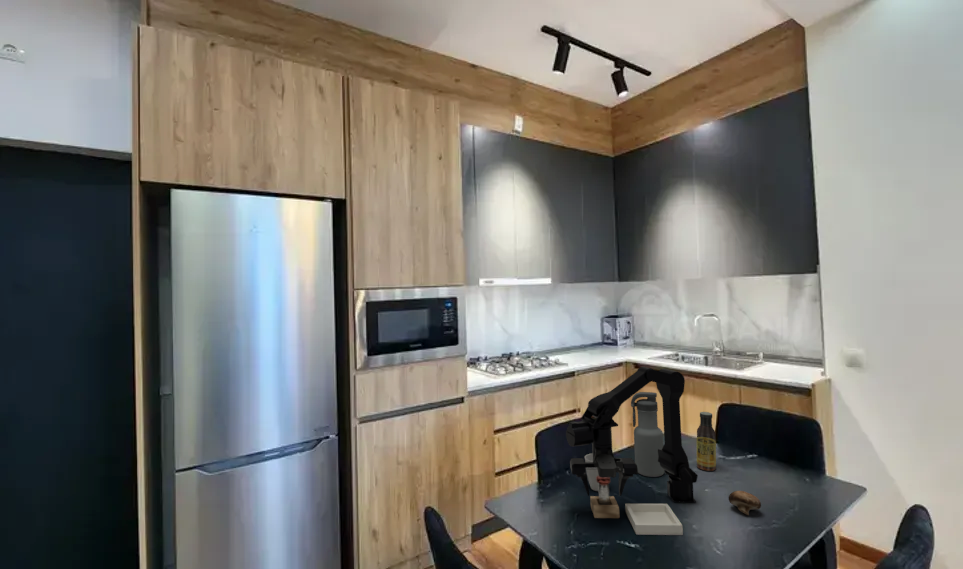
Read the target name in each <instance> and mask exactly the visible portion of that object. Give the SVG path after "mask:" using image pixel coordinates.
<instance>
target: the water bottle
mask: <svg viewBox="0 0 963 569" xmlns="http://www.w3.org/2000/svg"><path fill="white" fill-rule="evenodd" d="M631 397H632V398H631V401H630V406H631V408H632V427H633V428H634V429H633V445H634V462H635V463H636V465H637V468H638V474H639V475H641V476H644V477H649V478H658V477H661V476H663V475H664V474H665V471H664V469H663V468H662V467H661V466H660V463H659V462H658V457H659V456H658V449H662V448H663V446H664V431H663V430H662V429H661V428H659V426H658V422H659V421H658V407H659V406H658V402H657V398H658V394H657V393H656V392H652V391H651V392H650V391H648V392H647V391H638V392H636V393H635V394H634V395H633V396H631ZM637 399H638V400H637ZM636 410H637V416H636ZM636 418H637V419H636ZM636 423H637V424H636ZM636 425H637V426H636Z"/></svg>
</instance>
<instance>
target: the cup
mask: <svg viewBox="0 0 963 569" xmlns="http://www.w3.org/2000/svg"><path fill="white" fill-rule="evenodd" d="M584 462H593V452H592V453H589V454H588V453H587V454H586V455H584ZM586 474H587V481H588V485H589V486H590V489H591V490H593V491H595V492H599V488H598V482H597V481H596V477H597V476H599V474H598V470H597V469H586Z"/></svg>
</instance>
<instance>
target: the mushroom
mask: <svg viewBox="0 0 963 569" xmlns="http://www.w3.org/2000/svg"><path fill="white" fill-rule="evenodd" d="M728 501H729V504H731V505H733V506H734V507H737V510H738V511H740V512H741V513H743V514H744V515H747V516H749V515H750V511H751V510H754V511H755V510H760V509H761V507H762V503H761V501H760V499H759V498H758V497H757V496H755V495H754V494H752V493H749V492H747V491H744V490H734V491H733V492H731V493H730V494H729V495H728Z"/></svg>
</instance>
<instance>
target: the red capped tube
mask: <svg viewBox="0 0 963 569" xmlns="http://www.w3.org/2000/svg"><path fill="white" fill-rule="evenodd" d="M596 481H597V482H598V488H599V491H598V496H599V505H610V500H609V496H610V485H609V484H610V483H611V477H604V478H602V477H600V476H597V477H596Z"/></svg>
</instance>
